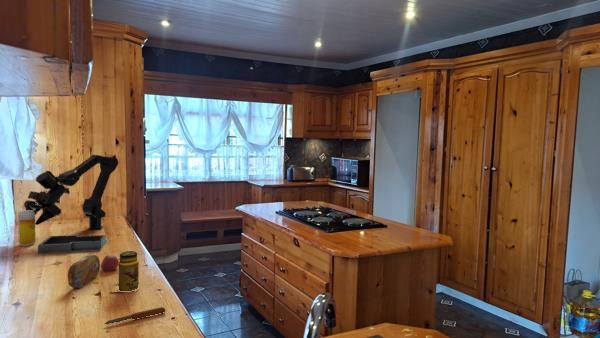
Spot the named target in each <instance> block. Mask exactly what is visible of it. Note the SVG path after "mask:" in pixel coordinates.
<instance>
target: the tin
mask: <svg viewBox="0 0 600 338" xmlns="http://www.w3.org/2000/svg"><path fill="white" fill-rule="evenodd" d="M100 269H101V263H100V259H99V257H98V255H96V254H92V255H91V254H90V255H86V256H84V257H82V258H80V259H79V260H77V261H75V262H73V263H72V264H71V265H70V267H69V269H68V270H67V281H68V285H69V286H70V287H71V288H72V289H73V288H78V289H81V288H84V287H85V286H86V285H88V284H90V283H91V282H92V281H93V280H95V279H97V277H98V275H99V272H100ZM83 286H84V287H83Z"/></svg>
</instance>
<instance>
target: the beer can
mask: <svg viewBox="0 0 600 338" xmlns="http://www.w3.org/2000/svg"><path fill="white" fill-rule="evenodd" d="M35 223H36V215H35V213H34V211H33V210H26V209H23V210H19V211H18V214H17V228H18V231H17V232H18V234H17V235H18V245H20V246H21V247H30V246H34V245H35V243H37V242H36V241H37V240H36V224H35Z"/></svg>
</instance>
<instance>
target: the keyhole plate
mask: <svg viewBox="0 0 600 338" xmlns="http://www.w3.org/2000/svg"><path fill="white" fill-rule="evenodd" d="M107 242H108V240H107V236H106V234H101V235H100V234H98V235H81V234H71V235H70V234H68V235H49V236H48V237H47V238H46V239H44V240H43V241H41V243H39V244H38V245H37V254H38V255H47V254H49V255H50V254H63V253H67V254H68V253H86V252H101V251H102V249H103V248H104V246H105V245H106V243H107Z"/></svg>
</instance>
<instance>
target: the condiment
mask: <svg viewBox="0 0 600 338" xmlns="http://www.w3.org/2000/svg"><path fill="white" fill-rule="evenodd" d="M118 261H119V264H118V267H117V268H118V283H115V284H114V285H115V286H117V285H118V286H119V290H120V291H132V290H135V289H137V288H138V285H139V283H140V282H139V276H140V274H139V272H140V270H139V268H140V267H139V263H140V262H139V260H138V252H136V251H134V250H128V251H123V252H120V254H119V260H118ZM140 285H142V283H141V284H140Z"/></svg>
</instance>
